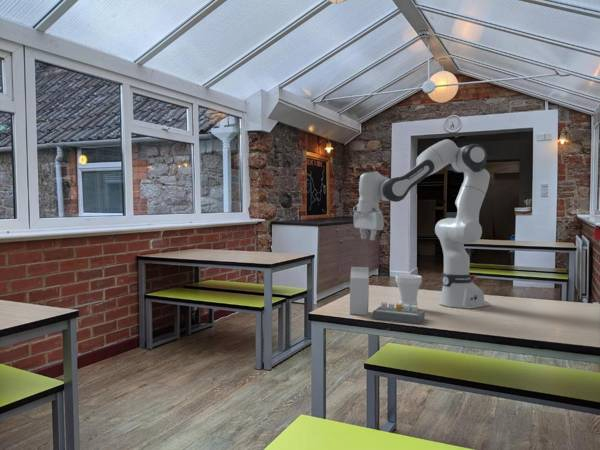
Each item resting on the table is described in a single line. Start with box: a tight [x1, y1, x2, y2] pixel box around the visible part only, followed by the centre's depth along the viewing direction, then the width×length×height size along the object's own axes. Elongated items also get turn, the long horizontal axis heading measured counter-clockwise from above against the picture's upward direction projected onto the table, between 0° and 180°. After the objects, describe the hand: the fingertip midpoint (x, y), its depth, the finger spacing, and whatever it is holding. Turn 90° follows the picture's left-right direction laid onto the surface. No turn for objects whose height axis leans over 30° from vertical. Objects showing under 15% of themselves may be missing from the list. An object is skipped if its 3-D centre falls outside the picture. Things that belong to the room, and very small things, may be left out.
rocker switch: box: [395, 303, 402, 311], centre depth 192 cm, size 2×1×2 cm, turn 65°
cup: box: [395, 273, 423, 310], centre depth 210 cm, size 11×11×14 cm
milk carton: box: [349, 266, 370, 316], centre depth 201 cm, size 7×7×19 cm
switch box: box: [372, 301, 426, 325], centre depth 192 cm, size 18×10×6 cm, turn 64°
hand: (367, 239), depth 215 cm, fingers open, 6 cm apart
